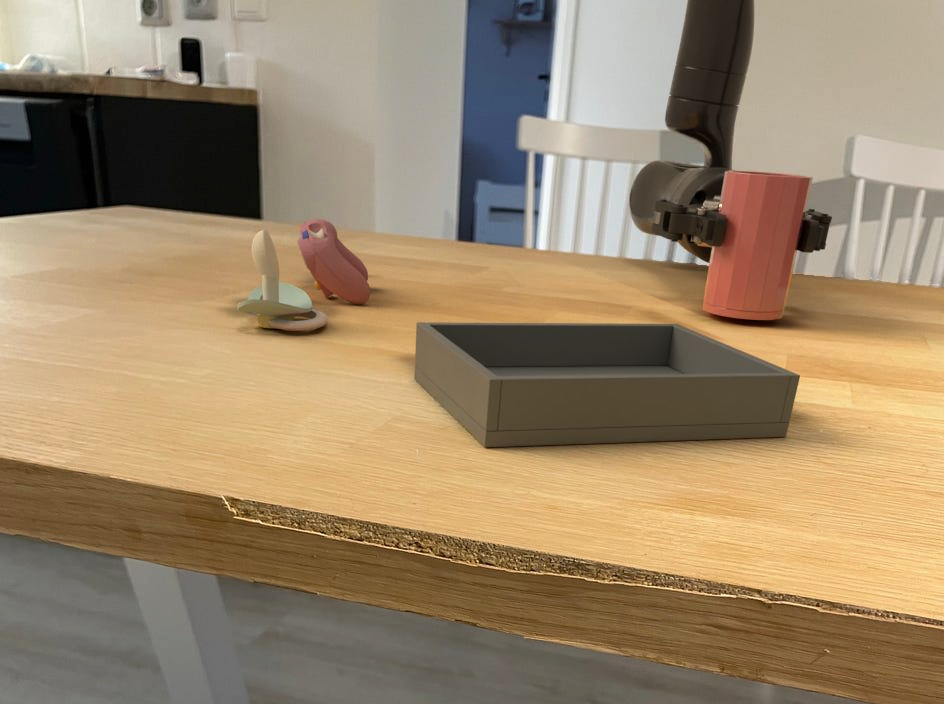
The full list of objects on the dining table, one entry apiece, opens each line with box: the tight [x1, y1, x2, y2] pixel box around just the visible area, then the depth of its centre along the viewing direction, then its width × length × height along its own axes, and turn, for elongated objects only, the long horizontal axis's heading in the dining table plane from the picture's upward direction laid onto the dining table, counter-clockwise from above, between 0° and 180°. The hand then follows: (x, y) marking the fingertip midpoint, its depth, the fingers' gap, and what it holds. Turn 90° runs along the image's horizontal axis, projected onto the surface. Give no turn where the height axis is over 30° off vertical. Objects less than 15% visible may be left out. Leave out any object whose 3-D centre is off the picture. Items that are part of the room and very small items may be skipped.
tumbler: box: [702, 170, 814, 321], centre depth 74 cm, size 6×6×10 cm
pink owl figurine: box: [296, 218, 372, 305], centre depth 79 cm, size 10×5×7 cm, turn 6°
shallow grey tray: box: [413, 321, 801, 448], centre depth 53 cm, size 17×13×3 cm
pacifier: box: [236, 229, 329, 332], centre depth 66 cm, size 7×6×6 cm
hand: (766, 234), depth 71 cm, fingers closed on tumbler, 6 cm apart
